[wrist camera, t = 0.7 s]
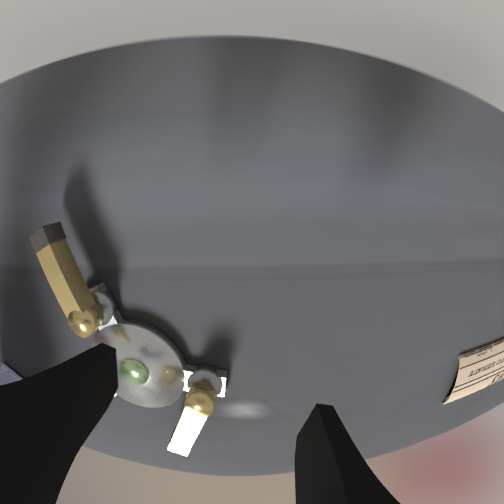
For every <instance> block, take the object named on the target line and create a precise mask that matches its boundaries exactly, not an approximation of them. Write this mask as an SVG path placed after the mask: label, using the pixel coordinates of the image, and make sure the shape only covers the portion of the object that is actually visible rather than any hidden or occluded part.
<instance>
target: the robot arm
mask: <svg viewBox="0 0 504 504" xmlns="http://www.w3.org/2000/svg"><path fill="white" fill-rule="evenodd" d="M1 367H2V369H1V370H0V504H55V503H56V501H57V498H58V495H59V492H60V490H61V487H62V485H63V482H64V480H65V478H66V475H67V473H68V471H69V468H70V467H71V464H72V462H73V461H74V458H75V456H76V454H77V453H78V451H79V449H80V447H81V446H82V445H83V443H84V442H85V440H86V439H87V438H88V436H89V435H90V433H91V432H92V430H93V429H94V427H95V426H96V425H97V423H98V422H99V420H100V419H101V417H102V416H103V414H104V413H105V411H106V410H107V408H108V407H109V405H110V403H111V401H112V399H113V397H114V395H115V393H116V391H117V389H118V387H119V386H118V373H117V356H116V348H114V347H111V346H109V345H106V344H104V343H100V344H98V345H96V346H94V347H92V348H90V349H88V350H87V351H85V352H83V353H81V354H79V355H77V356H75V357H73V358H71V359H69V360H67V361H65V362H63V363H61V364H59V365H57V366H54V367H52V368H50V369H48V370H45V371H43V372H40V373H38V374H36V375H33V376H31V377H28V378H25V379H23V378H21V377H20V376H19V375H18V374H16V373H15V372H14V371H13V370H11V369H10V368H9V367H8V366H7V365H5V364H4V363H3V364H1ZM295 489H296V504H400V503H399V502H398V501H397V500H396V499H395V498H394V497H393V496H392V495H391V494H390V492H389V491H388V490H387V489H386V488H385V487H384V486H383V484H382V483H381V482H380V481H379V480H378V479H377V477H376V476H375V474H374V473H373V472H372V470H371V469H370V467H369V466H368V465H367V463H366V462H365V460H364V459H363V457H362V456H361V454H360V452H359V451H358V449H357V448H356V446H355V444H354V443H353V441H352V439H351V437H350V436H349V434H348V432H347V430H346V429H345V427H344V425H343V423H342V421H341V420H340V418H339V416H338V414H337V412H336V411H335V409H334V407H333V406H331V405H324V404H316V405H315V407H314V409H313V411H312V412H311V414H310V416H309V417H308V419H307V421H306V422H305V424H304V426H303V427H302V429H301V430H300V432H299V434H298V435H297V441H296V450H295Z"/></svg>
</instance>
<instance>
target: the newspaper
mask: <svg viewBox="0 0 504 504" xmlns="http://www.w3.org/2000/svg"><path fill="white" fill-rule="evenodd" d="M458 358H459V359H460V361H459V371H458V375H457V379H456V383H455V387H454V389H453V391H452V393H451V395H450V396H448V397H446V398H445V399H444V400H445V401H443V402H442V404H443V405H444V404H446V403H449V402H452V401H454V400H457V399H459V398H462V397H464V396H467V395H469V394H471V393H474V392H476V391H478V390H480V389H483V388H485V387H487V386H489V385H491V384H493V383H495V382H497V381H499V380H501V379H503V378H504V339H502V340H500V341H497V342H495V343H492V344H490V345H487V346H484V347H482V348H479V349H476V350H473V351H471V352H468V353H465V354H462V355H459V356H458Z"/></svg>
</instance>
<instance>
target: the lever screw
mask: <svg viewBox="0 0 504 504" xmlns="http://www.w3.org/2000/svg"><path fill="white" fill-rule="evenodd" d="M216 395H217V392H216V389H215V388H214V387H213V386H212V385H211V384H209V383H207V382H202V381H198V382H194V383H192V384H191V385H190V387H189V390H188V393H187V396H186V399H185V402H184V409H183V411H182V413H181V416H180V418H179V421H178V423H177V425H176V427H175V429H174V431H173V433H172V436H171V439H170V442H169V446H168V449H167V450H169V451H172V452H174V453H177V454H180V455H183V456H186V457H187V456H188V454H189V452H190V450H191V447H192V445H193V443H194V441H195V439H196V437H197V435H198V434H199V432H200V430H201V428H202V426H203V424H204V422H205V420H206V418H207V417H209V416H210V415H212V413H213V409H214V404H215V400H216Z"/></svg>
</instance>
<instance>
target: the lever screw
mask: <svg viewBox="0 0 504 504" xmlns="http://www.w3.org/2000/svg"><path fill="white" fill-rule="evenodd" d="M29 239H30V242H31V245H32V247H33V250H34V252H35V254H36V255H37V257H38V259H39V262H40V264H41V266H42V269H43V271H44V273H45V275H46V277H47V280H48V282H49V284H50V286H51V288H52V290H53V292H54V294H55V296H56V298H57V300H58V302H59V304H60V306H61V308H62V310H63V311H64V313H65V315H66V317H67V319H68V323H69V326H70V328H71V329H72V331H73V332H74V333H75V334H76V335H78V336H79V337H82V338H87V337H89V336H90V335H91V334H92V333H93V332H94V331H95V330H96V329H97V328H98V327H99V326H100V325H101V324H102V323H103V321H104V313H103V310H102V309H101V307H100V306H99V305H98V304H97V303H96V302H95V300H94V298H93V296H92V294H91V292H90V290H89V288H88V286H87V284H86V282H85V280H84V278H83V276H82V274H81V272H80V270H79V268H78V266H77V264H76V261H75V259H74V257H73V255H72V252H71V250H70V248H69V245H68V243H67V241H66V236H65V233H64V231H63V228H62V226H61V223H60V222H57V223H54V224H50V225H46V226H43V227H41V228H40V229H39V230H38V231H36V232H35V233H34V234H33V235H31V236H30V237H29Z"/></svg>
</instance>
